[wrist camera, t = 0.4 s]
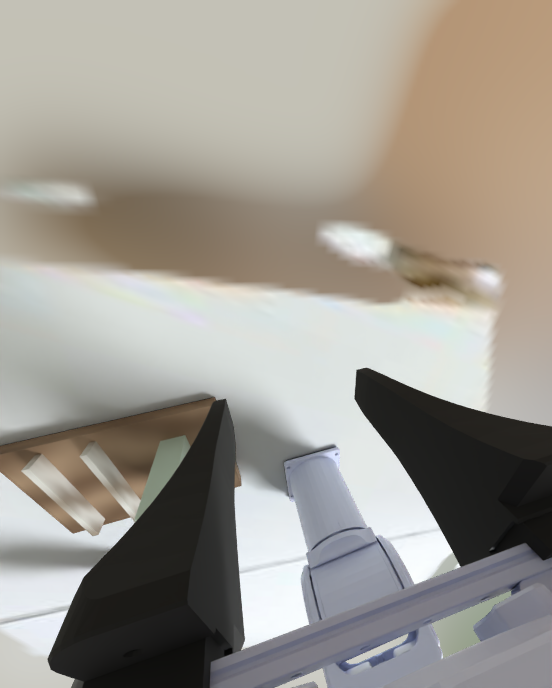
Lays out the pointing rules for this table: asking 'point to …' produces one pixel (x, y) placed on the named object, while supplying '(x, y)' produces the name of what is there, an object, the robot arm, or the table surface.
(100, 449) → the track base
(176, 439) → the door panel
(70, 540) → the table surface
